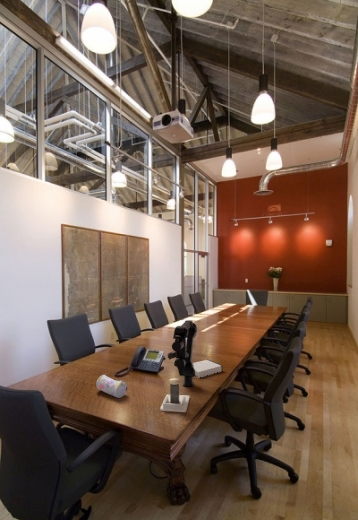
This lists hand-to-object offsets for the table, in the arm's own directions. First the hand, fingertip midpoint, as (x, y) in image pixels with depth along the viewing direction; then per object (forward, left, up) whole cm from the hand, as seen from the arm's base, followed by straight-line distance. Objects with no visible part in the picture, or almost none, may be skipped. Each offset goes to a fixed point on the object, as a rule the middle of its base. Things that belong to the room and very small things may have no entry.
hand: (181, 372), depth 167 cm
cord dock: (+12, -2, -13) cm, 18 cm away
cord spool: (+15, -2, -12) cm, 19 cm away
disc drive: (-41, +10, -14) cm, 44 cm away
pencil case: (+3, -44, -13) cm, 46 cm away
